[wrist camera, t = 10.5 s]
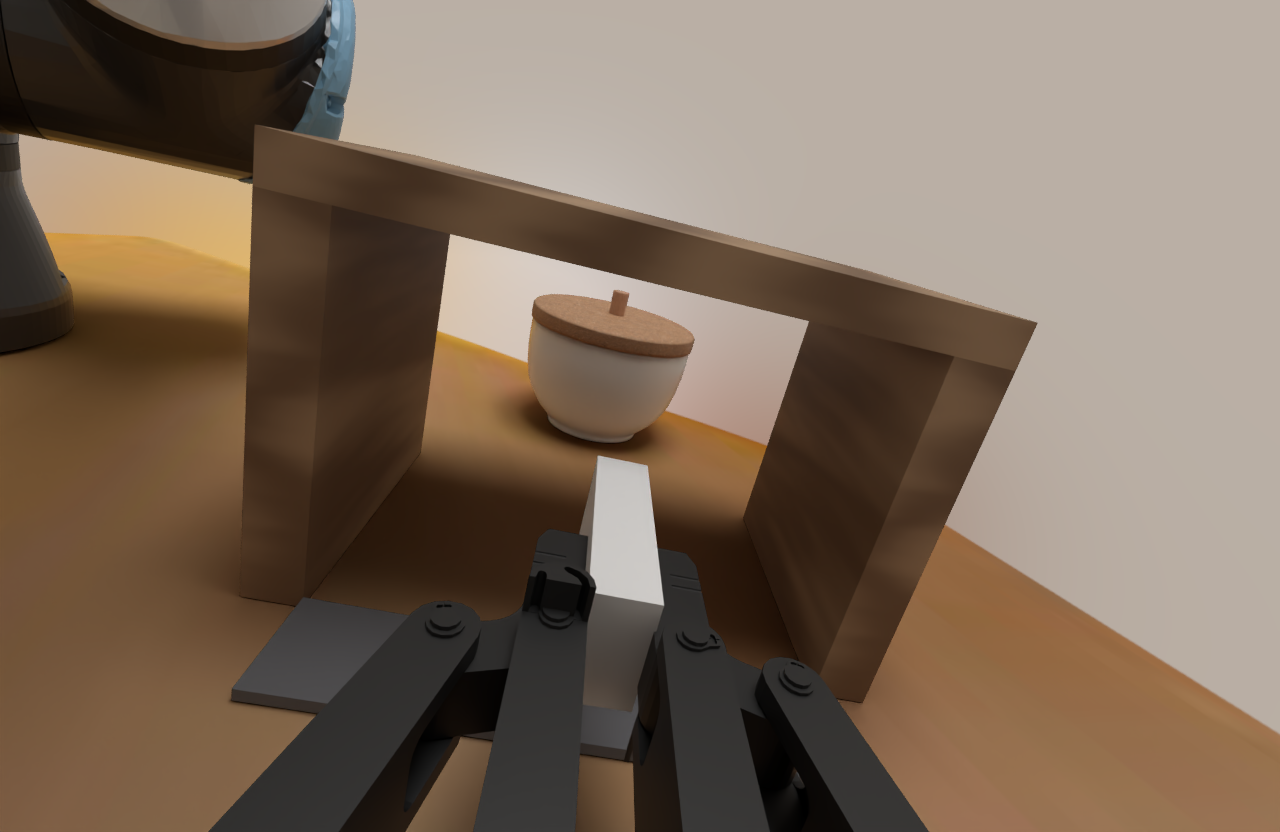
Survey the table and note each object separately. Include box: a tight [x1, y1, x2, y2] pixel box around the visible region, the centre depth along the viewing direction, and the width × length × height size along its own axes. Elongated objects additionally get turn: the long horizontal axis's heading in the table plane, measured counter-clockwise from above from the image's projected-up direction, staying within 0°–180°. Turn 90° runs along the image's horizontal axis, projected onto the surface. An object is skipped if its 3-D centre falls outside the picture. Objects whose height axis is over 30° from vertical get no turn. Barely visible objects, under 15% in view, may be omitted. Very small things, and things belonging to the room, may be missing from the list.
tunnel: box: [240, 125, 1037, 703], centre depth 25 cm, size 22×13×14 cm, turn 92°
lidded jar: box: [528, 290, 694, 443], centre depth 41 cm, size 11×11×9 cm
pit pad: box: [231, 597, 802, 781], centre depth 19 cm, size 18×4×1 cm, turn 92°
